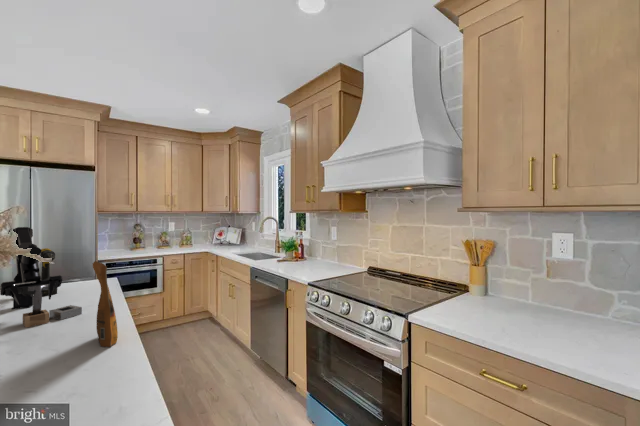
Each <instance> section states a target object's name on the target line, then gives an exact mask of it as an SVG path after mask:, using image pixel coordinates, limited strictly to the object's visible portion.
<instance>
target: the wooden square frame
mask: <svg viewBox="0 0 640 426" xmlns="http://www.w3.org/2000/svg"><path fill="white" fill-rule="evenodd" d="M49 323H50V317H49V311H48V310H47V309H41V314H37V315H32V311H31V312H25V313H22V325H23V326H24V328H31V327H35V326H40V325H41V326H42V325H43V324H49Z"/></svg>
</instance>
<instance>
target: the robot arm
mask: <svg viewBox="0 0 640 426" xmlns="http://www.w3.org/2000/svg"><path fill="white" fill-rule="evenodd" d="M10 230H11V229H9V230H8V231H7V235H8V234H9V232H10ZM13 231H14V232H16V233H17V234H18V237H17V240H16V244H17V245H18V247H19V248H23V249H27V248H32V249H31V251H30V253H31V254H37V255H40V256H41V255H43V252H41V249H42V248H40V247H38V246H37V245H36V244H34V243H33V241H32V238H33V237H34V233H33V232H34V230H33V228H31V227H29V226H17V227H15V228H13ZM39 262H40V261H38V260H36V259H33V258H30V257H26V256H23V255H18V256H16V255H15V264H16V275H15V277H14V278H13V280H11V281H3V282H1V283H0V296H5V297H11V298H12V307H10V309H11V310H15V309H16V310H18V309H27V308H28V309H29V308H31V307H33V297H34V291H29V292H28V287H34V286H38V285H49V289H48V290H49V295H48V300H51V298H52V296H53V295H52V292H53V290H54V289H56V288H57V289H58V288H59V287H61V285H62V283H63V276H62V275H60V274H57V275H50V278H49V280H44V281H41V272H40V266H39Z"/></svg>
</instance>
